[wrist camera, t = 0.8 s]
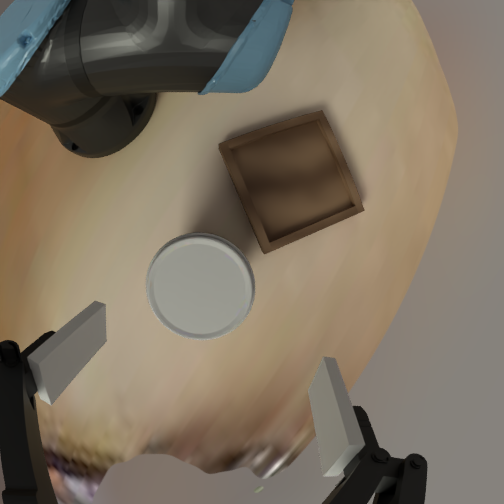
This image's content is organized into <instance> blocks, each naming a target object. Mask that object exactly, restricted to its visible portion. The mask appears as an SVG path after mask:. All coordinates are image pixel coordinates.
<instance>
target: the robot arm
mask: <svg viewBox="0 0 504 504" xmlns="http://www.w3.org/2000/svg"><path fill="white" fill-rule="evenodd" d="M293 2H294V0H15V1H14V2H13V3H12V4H11V5H10V6H9V7H8V8H7V9H6V11H4V13H3V14H2V15H1V16H0V99H1V100H3V101H5V102H7V103H9V104H11V105H13V106H15V107H17V108H19V109H21V110H23V111H25V112H27V113H29V114H31V115H32V116H34V117H36V118H38V119H40V120H42V121H44V122H46V123H48V124H50V126H51V128H52V129H53V131H54V133H55V134H56V136H57V138H58V139H59V141H60V142H61V144H62V145H63V146H64V147H65V148H66V149H68V150H69V151H71V152H73V153H75V154H77V155H80V156H82V157H87V158H99V157H104V156H108V155H111V154H113V153H115V152H117V151H119V150H121V149H122V148H124V147H125V146H127V145H128V144H129V143H131V142H132V141H133V140H134V139H135V138H136V137H137V136H138V135H139V134H140V133H141V131H142V130H143V129H144V127H145V126H146V124H147V123H148V121H149V119H150V117H151V115H152V112H153V110H154V106H155V102H156V92H198V95H205V94H207V93H244V92H248V91H250V90H252V89H253V88H255V87H257V86H258V85H259V84H260V83H261V82H262V81H263V80H264V78H265V77H266V75H267V73H268V72H269V70H270V68H271V66H272V64H273V62H274V60H275V58H276V56H277V53H278V51H279V49H280V46H281V44H282V41H283V38H284V36H285V33H286V30H287V27H288V24H289V21H290V18H291V14H292V10H293V9H292V6H291V5H293ZM106 341H107V339H106V304H103V303H100V302H98V301H94V302H93V303H92V304H90V305H89V306H88V307H87V308H85V309H84V310H83V311H82V312H80V313H79V314H78V315H77V316H75V317H74V318H73V319H72V320H70V321H69V322H68V323H67V324H66V325H64V326H63V327H62V328H61V329H60V330H58V331H57V332H54V331H50V332H47V333H44V334H43V335H42V336H41V337H39V339H37V340H36V341H35V342H34V343H32V344H31V345H30V346H28V347H27V348H26V349H25V350H24V351H23V352H21V353H20V349H19V345H18V344H17V343H16V342H14V341H11V340H5V341H2V342H0V453H1V462H2V469H3V475H4V481H5V486H6V488H5V490H4V491H2V499H3V503H4V504H58V502H57V499H56V496H55V493H54V490H53V487H52V483H51V480H50V476H49V473H48V469H47V465H46V461H45V457H44V452H43V447H42V442H41V437H40V431H39V425H38V417H37V409H36V400H35V396H34V394H35V393H36V392H37V391H38V393H39V396H40V399H42V400H43V401H45V402H47V403H48V404H50V405H52V404H53V403H54V402H55V400H56V399H57V398H58V397H59V396H60V394H61V393H62V392H63V391H64V390H65V388H66V387H67V386H68V385H69V384H70V383H71V381H72V380H73V379H74V378H75V377H76V375H77V374H78V373H79V372H80V371H81V370H82V369H83V367H84V366H85V365H86V364H87V363H88V362H89V360H90V359H91V358H92V357H93V356H94V355H95V354H96V353H97V351H98V350H99V349H100V348H101V347H102V346H103V345H104V344H105V342H106ZM308 393H309V398H310V404H311V409H312V415H313V420H314V426H315V431H316V437H317V443H318V448H319V455H320V461H321V467H322V473H323V476H338V475H339V474H340V473H341V472H342V471H344V475H345V477H344V478H343V479H342V480H341V481H340V482H339V483H338V484H337V485H336V487H335V489H334V490H333V491H332V492H331V493H330V495H329V496H328V497H327V498H326V499H325V501H324V502H323V503H322V504H367V503H368V501H369V500H370V498H371V497H372V495H373V493H374V492H375V497H374V500H373V504H424V501H425V492H426V481H427V461H426V460H425V458H424V457H422V456H421V455H419V454H410V455H409V456H407V457H406V458H405V459H400V458H393V457H391V456H390V454H389V453H388V452H387V451H386V450H385V449H383V448H380V447H379V445H378V442H377V440H376V437H375V434H374V432H373V429H372V427H371V424H370V422H369V418H368V416H367V413H366V412H365V411H364V410H363V408H362V407H361V406H352V404H351V401H350V398H349V396H348V392H347V389H346V387H345V384H344V381H343V378H342V376H341V373H340V370H339V367H338V365H337V362H336V359H335V358H330V357H323V358H322V360H321V363H320V365H319V367H318V370H317V372H316V374H315V376H314V378H313V381H312V383H311V385H310V387H309V389H308Z"/></svg>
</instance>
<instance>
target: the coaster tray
mask: <svg viewBox="0 0 504 504" xmlns="http://www.w3.org/2000/svg"><path fill="white" fill-rule="evenodd" d="M219 150H220V153H221V155H222V157H223V160H224V162H225V164H226V167H227V169H228V171H229V174H230V176H231V178H232V181H233V183H234V185H235V188H236V190H237V193H238V195H239V197H240V200H241V202H242V204H243V207H244V209H245V212H246V214H247V216H248V219H249V221H250V223H251V226H252V228H253V231H254V233H255V235H256V238H257V240H258V243H259V245H260V247H261V250H262V252H263V253H264V254H266V253H269V252H271V251H273V250H276V249H278V248H280V247H282V246H285V245H287V244H289V243H292V242H294V241H296V240H299V239H301V238H303V237H305V236H308V235H310V234H312V233H315V232H317V231H319V230H321V229H324V228H326V227H328V226H331V225H333V224H335V223H337V222H340V221H342V220H344V219H347V218H349V217H351V216H353V215H356V214H358V213H360V212H362V211H365V210H364V208H363V205H362V202H361V199H360V196H359V194H358V191H357V188H356V186H355V183H354V181H353V178H352V176H351V173H350V171H349V168H348V166H347V163H346V161H345V159H344V156H343V154H342V152H341V149H340V147H339V145H338V142H337V140H336V138H335V136H334V134H333V131H332V129H331V127H330V125H329V123H328V121H327V119H326V117H325V115H324V113H323V111H322V110H321V111H318V112H314V113H310V114H307V115H303V116H300V117H296V118H293V119H289V120H286V121H283V122H280V123H276V124H273V125H270V126H267V127H264V128H261V129H258V130H255V131H252V132H250V133H247V134H244V135H241V136H238V137H236V138H233V139H230V140H228V141H225V142H223V143H220V144H219Z"/></svg>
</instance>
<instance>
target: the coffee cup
mask: <svg viewBox="0 0 504 504" xmlns="http://www.w3.org/2000/svg"><path fill="white" fill-rule="evenodd" d="M146 293H147V298H148V302H149V304H150V307H151V309H152V311H153V313H154V314H155V316H156V317H157V318H158V320H159V321H160V322H161V323H162V324H163V325H164V326H165V327H166V328H168V329H169V330H171V331H172V332H173V333H175V334H177V335H180V336H182V337H185V338H188V339H193V340H210V339H215V338H219V337H222V336H224V335H226V334H228V333H230V332H232V331H233V330H235V329H236V328H237V327H238V326H239V325H240V324H241V323H242V322H243V321H244V320H245V318H246V317H247V315H248V314H249V312H250V310H251V307H252V305H253V301H254V296H255V279H254V274H253V271H252V268H251V266H250V264H249V262H248V260H247V258H246V257H245V256H244V254H243V253H242V252H241V251H240V250H239V249H238V248H237V247H236V246H235V245H234V244H232V243H231V242H230V241H228V240H226V239H224V238H222V237H220V236H217V235H214V234H209V233H200V232H199V233H189V234H184V235H181V236H179V237H176V238H174V239H172V240H170V241H169V242H168V243H166V244H165V245H164V246H163V247H162V248H161V249H160V250H159V251H158V252H157V253H156V255H155V256H154V258H153V259H152V261H151V263H150V266H149V268H148V272H147V276H146Z"/></svg>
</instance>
